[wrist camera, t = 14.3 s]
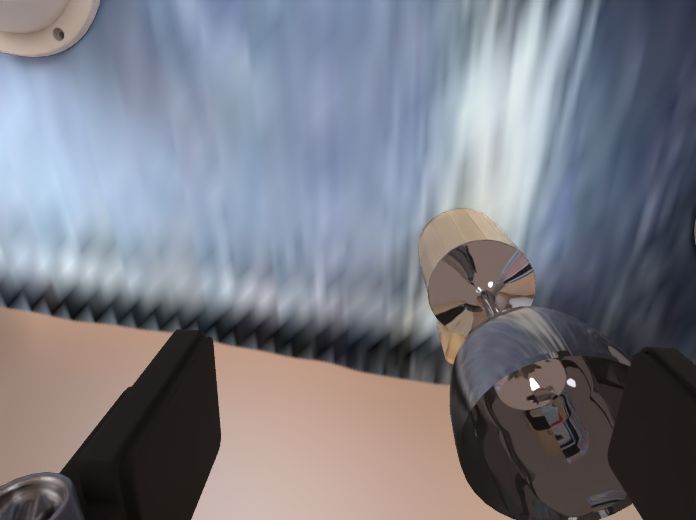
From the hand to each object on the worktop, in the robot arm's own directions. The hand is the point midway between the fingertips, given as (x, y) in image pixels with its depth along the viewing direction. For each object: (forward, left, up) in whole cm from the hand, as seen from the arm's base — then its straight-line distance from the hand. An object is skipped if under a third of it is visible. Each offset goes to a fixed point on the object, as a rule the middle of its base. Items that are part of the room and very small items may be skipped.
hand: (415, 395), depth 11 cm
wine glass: (+9, +3, -21) cm, 23 cm away
